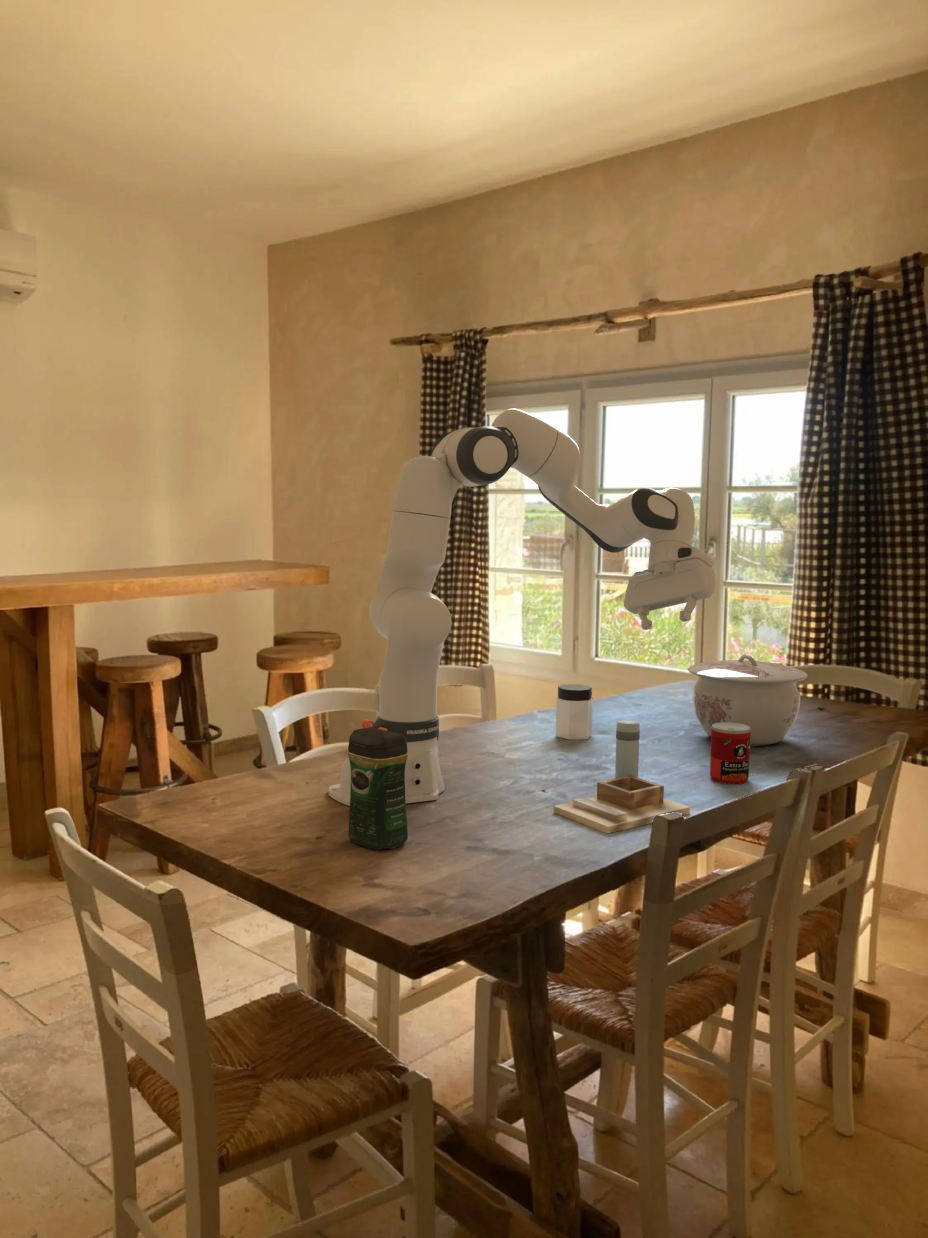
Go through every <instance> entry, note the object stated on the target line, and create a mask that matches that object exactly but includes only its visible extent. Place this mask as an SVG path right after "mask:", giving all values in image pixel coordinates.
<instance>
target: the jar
mask: <svg viewBox="0 0 928 1238" xmlns="http://www.w3.org/2000/svg"><path fill="white" fill-rule="evenodd" d="M592 695H593V688H592V687H591V686H590V685H586V684H575V683H574V684H569V683H568V684H561V685H558V687H557V697H556V705H555V710H556V712H555V714H556V715H555V737H557V738H561V739H564V740H568V741H576V740H578V741H580V740H581V741H582V740H588V739H589V738H590V737H591V736H592V734H593V730H592V729H593V703H594V701H593V696H592Z"/></svg>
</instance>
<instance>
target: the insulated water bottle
mask: <svg viewBox="0 0 928 1238" xmlns="http://www.w3.org/2000/svg"><path fill="white" fill-rule="evenodd" d="M640 726H641V725H640V722H639V721H635V720H619V721H616V730H615V740H616V741H615V767H614V768H615V771H614V772H615V773H614V777H615V778H620V777H625V776H630V775H631V776H634V777H637V778H639V758H640V757H639V755H640V738H641V737H640V734H641V732H640V731H641V730H640ZM615 778H614V779H615Z"/></svg>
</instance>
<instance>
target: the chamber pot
mask: <svg viewBox="0 0 928 1238" xmlns="http://www.w3.org/2000/svg"><path fill="white" fill-rule="evenodd" d="M745 659H746V660H745ZM687 670H688V672H689V673H690V674H691V675H693V676H694V675H695V676H696V677H697V681H696V683H695V684H694V686H693V687H692V702H693V708H694V709H693V710H694V714H695V716H696V718H697V719H698V721H699V723H700V725H701V728H703V730H704V732H705V734H706V735H707V736H708V737H710V738H711V728H712V725H713V724H715V723H720V722H731V723H740V724H744V725H747V726H749V727H750V730H751V734H750V736H751V737H750V747H764V746H765V747H766V746H768V745H772V744H776V743H779V742H781V741H782V740H783V739H784V738H785V737H786V736H787V735H788V733H789V731H790V730H791V729H792V727H793V725H794V724H795V723H796V722H797V717H798V714H799V710H800V706H801V693H800V691H799V689H798V687H797V685H796V684H797V683H798V682H801V681H804V680H806V679H807V678H808V676H809V674H807V673H806V672H805V671H803V670H801V669H798V668H795V667H792V666H789V665H785V664H781V663H773V662H768V661H759V660H758V661H757V660H755V658H753V656H752V655H749V654H748V653H745V654H743V655H741V656H740V657H739V658H738V659H729V660H728V659H725V660H724V659H723V660H715V661H714V660H713V661H705V662H699V663H696V664H692V665H691V666H689V667H688V668H687Z"/></svg>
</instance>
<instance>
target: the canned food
mask: <svg viewBox="0 0 928 1238" xmlns="http://www.w3.org/2000/svg"><path fill="white" fill-rule="evenodd" d="M750 734H751V730H750V727H749V726H747V725H744V724H740V723H731V722H720V723H715V724H713V725H712V728H711V737H710V759H709V761H710V762H709V776H710V780H712V781H714V782H715V783H719V782H720V783H719V784H723V783H726V784H725V785H742V784H745V783H747V782H748V780H749V775H750V774H749V773H750V754H751V753H750V752H751V746H750V737H751V736H750Z"/></svg>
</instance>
